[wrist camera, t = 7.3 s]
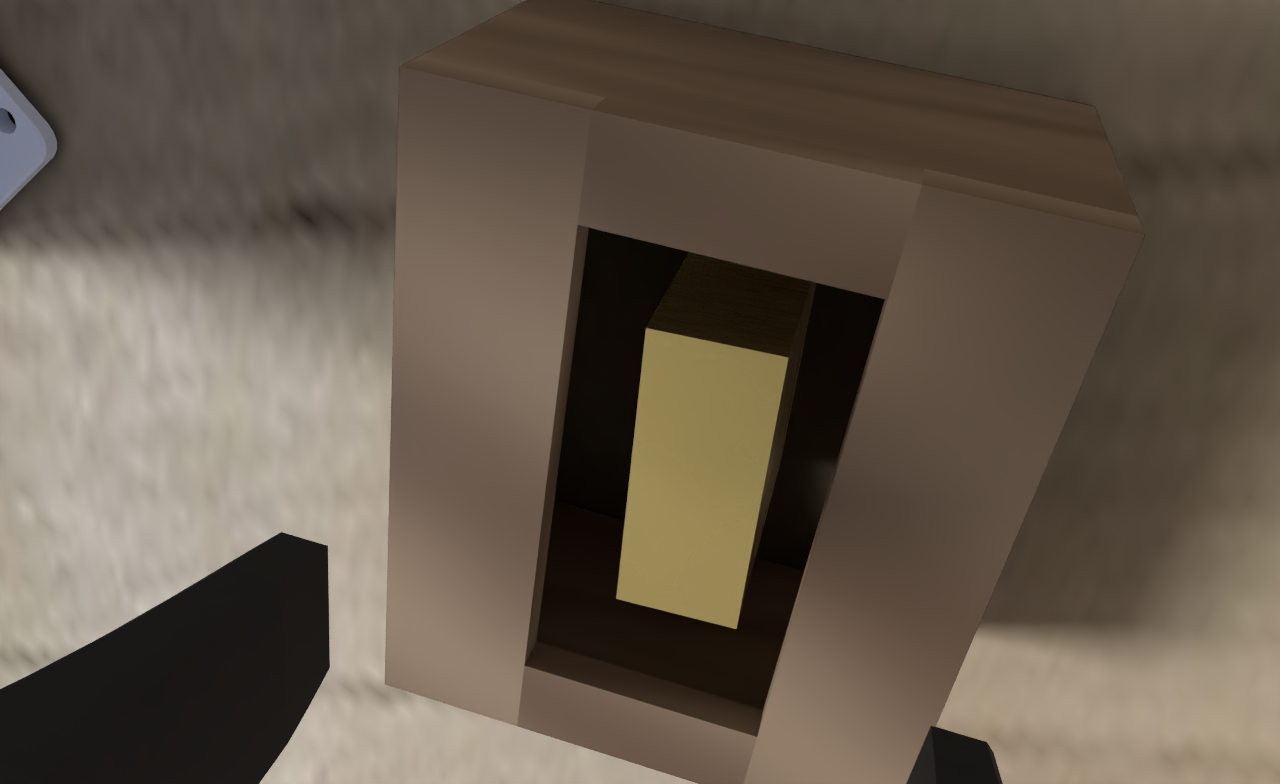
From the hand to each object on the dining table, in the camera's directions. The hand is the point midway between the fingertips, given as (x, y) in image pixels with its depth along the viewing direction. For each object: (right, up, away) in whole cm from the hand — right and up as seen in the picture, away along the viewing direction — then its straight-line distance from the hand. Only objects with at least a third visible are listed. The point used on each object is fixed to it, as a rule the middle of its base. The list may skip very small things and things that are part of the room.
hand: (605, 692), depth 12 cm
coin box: (+2, +4, +8) cm, 9 cm away
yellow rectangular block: (+2, +4, +8) cm, 9 cm away
